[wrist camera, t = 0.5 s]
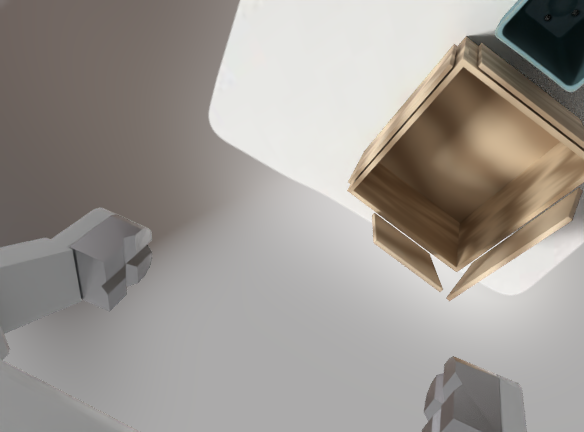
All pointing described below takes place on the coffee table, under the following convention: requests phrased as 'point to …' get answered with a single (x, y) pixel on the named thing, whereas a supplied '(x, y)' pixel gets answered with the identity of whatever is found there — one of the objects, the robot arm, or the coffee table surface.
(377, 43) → the coffee table surface
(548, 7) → the flower pot
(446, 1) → the coffee table surface
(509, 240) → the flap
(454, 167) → the open wooden box
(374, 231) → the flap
